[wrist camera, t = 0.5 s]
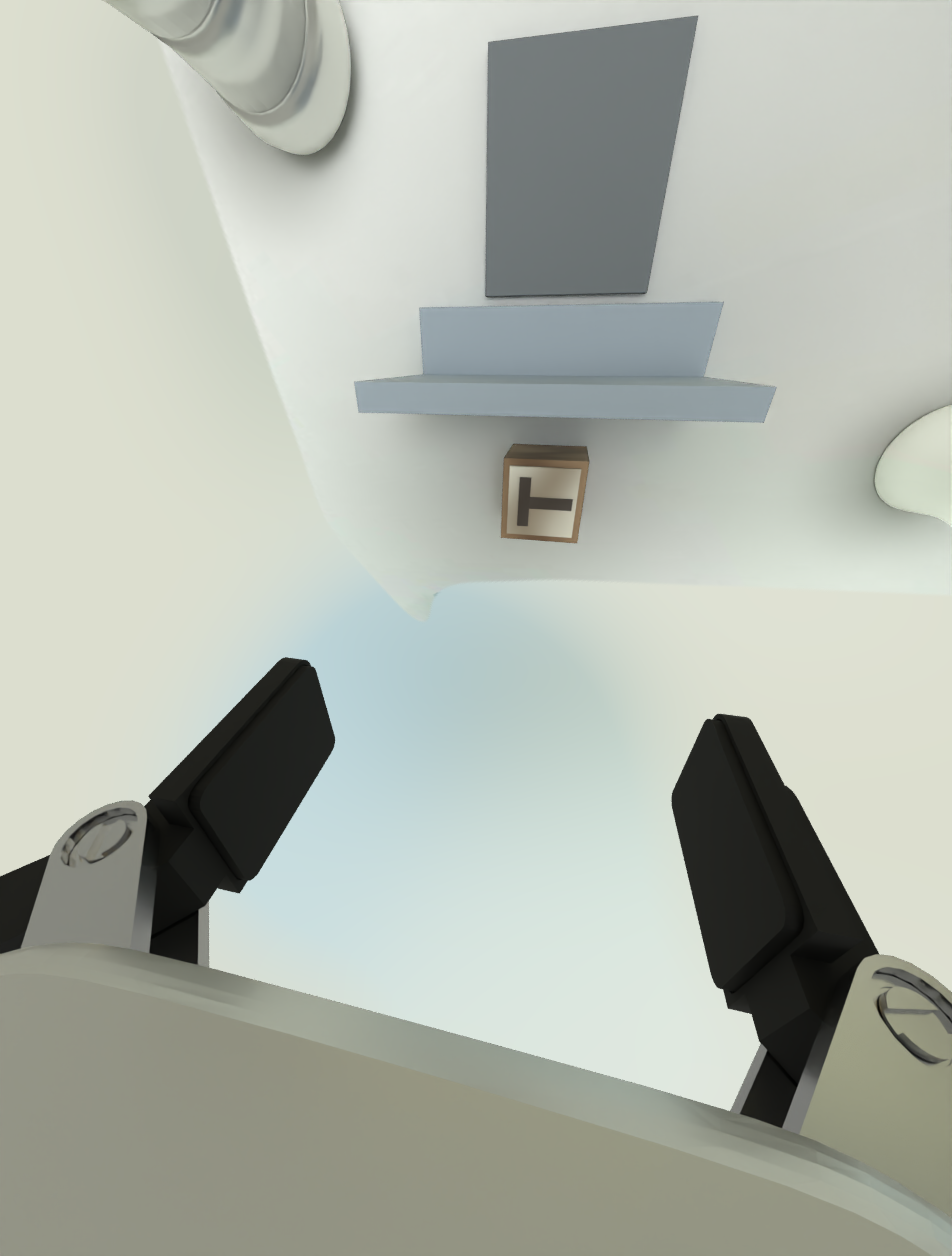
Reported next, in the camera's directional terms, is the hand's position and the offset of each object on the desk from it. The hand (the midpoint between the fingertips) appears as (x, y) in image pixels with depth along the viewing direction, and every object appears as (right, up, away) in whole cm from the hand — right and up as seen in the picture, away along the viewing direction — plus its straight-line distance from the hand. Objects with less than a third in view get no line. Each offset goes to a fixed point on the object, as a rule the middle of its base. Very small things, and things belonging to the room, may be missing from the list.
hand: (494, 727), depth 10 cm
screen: (+5, +19, +15) cm, 25 cm away
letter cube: (+5, +13, +19) cm, 24 cm away
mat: (+5, +25, +11) cm, 28 cm away
